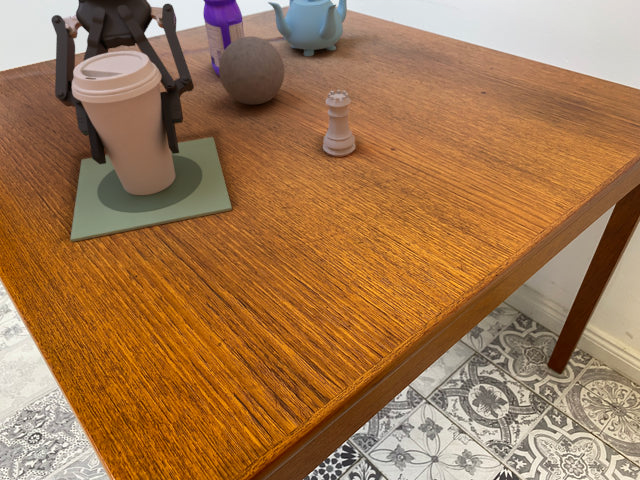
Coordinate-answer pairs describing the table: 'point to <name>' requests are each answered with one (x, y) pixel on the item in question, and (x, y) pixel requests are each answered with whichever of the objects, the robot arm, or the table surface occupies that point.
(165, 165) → the coffee cup
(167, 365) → the table surface
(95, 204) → the mat
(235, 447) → the table surface
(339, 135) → the rook chess piece
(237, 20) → the bottle
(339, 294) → the table surface
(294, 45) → the teapot
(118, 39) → the robot arm
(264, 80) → the decorative ball
